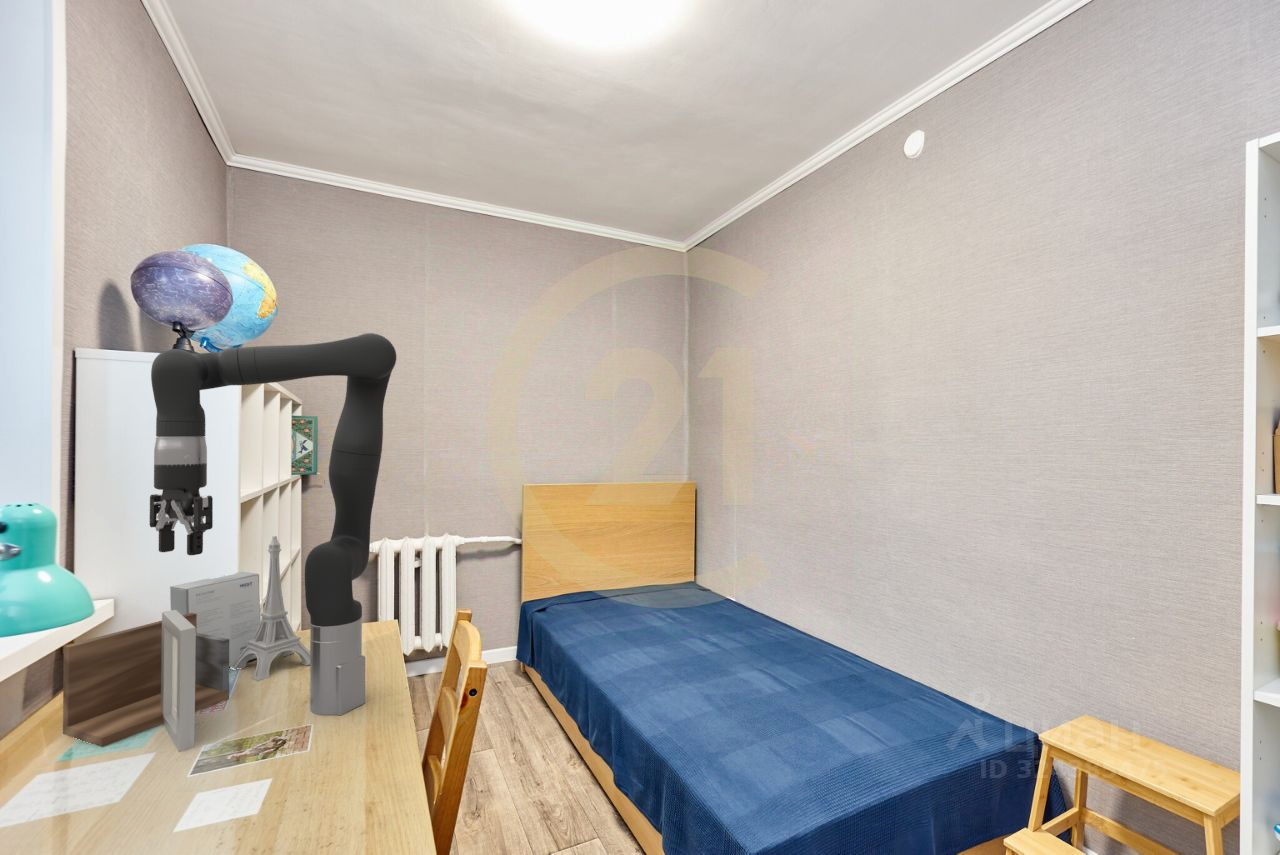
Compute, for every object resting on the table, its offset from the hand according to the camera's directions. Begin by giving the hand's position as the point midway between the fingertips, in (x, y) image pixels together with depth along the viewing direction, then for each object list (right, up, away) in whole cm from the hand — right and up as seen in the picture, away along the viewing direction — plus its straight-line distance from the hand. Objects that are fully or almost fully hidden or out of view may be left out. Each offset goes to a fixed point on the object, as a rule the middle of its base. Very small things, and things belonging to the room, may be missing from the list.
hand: (180, 552), depth 106 cm
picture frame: (0, -33, 0) cm, 33 cm away
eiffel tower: (-3, -33, +31) cm, 45 cm away
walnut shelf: (-10, -32, +6) cm, 34 cm away
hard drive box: (-15, -33, +30) cm, 47 cm away
